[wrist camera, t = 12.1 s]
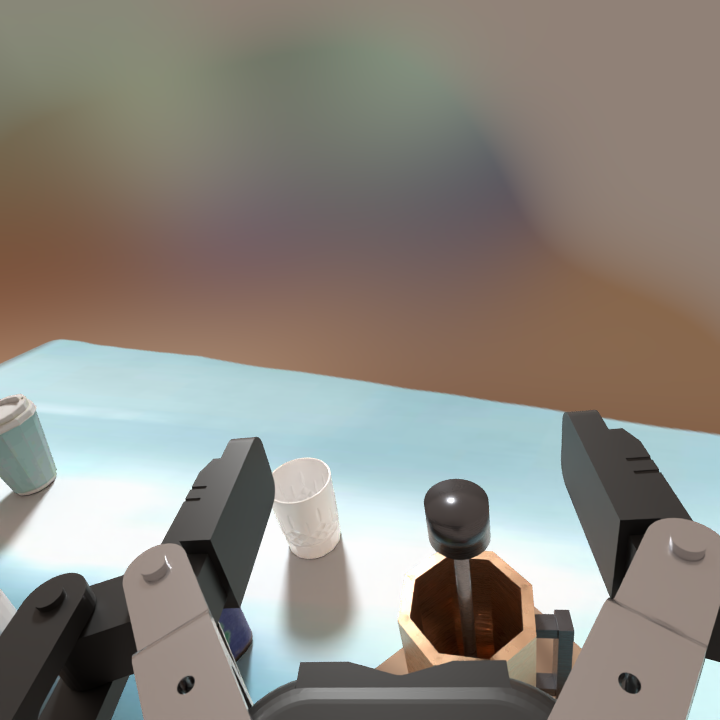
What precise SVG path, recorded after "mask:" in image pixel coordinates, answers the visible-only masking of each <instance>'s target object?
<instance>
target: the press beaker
mask: <svg viewBox="0 0 720 720" xmlns="http://www.w3.org/2000/svg"><path fill="white" fill-rule="evenodd" d="M469 566H470V577H471V589H472V601H473V612H474V624H475V636H476V647H477V658H471V657H464V648H463V639H462V630H461V620H460V611H459V601H458V592H457V583H456V573H455V564H454V559H450V558H447V557H444V556H442V555H441V554H439V553H438V552H437V553H436V554H434V555H433V556H432V557H430V558H429V559H427V560H426V561H424V562H423V563H421V564H420V565H418V566H417V567H416V568H414V569H413V570H411V571H410V572H408V573H407V574H405V580H404V587H403V593H402V599H401V605H400V611H399V617H398V624H399V629H400V634H401V639H402V644H403V649H404V654H405V659H406V664H407V669H408V673H412V672H415V671H419V670H422V669H426V668H429V667H433V666H436V665H440V664H443V663H447V662H450V661H466V660H506V661H507V667H508V673H509V678H512V679H516V680H520V681H522V682H525V683H527V684H530V685H532V686H535V687H536V688H538V689H540V690H542V691H544V692H546V693H548V694H549V695H550V696H555V698H556V700H557V699H558V697H559V695H560V693H561V691H562V689H563V687H564V684H565V682H566V680H567V678H568V676H569V674H570V672H571V670H572V656H573V642H574V628H573V624H572V620H571V616H570V612H569V610H554V614H534V602H533V590H532V585H531V584H530V583H529V582H528V581H527V580H526V579H524V578H523V577H522V576H521V575H520V574H519V573H517V572H516V571H515V570H514V569H513V568H511V567H510V566H509V565H508V564H507V563H506V562H504V561H503V560H502V559H501V558H500V557H499V556H497V555H496V554H495V553H494V552H491V551H484V552H482V553H481V554H480V555H478V556H476V557H474V558H471V559H469ZM536 638H549V639H553V664H552V673H536ZM479 658H481V659H479Z"/></svg>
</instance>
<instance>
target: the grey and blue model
mask: <svg viewBox="0 0 720 720" xmlns="http://www.w3.org/2000/svg"><path fill="white" fill-rule="evenodd" d="M219 624H220V626H221V628H222V630H223V633H224V635H225V638H226V640H227V642H228V645H229V647H230V650H231V652H232V655H233V657H234V659H235V662H236V661H237V660H238V659H239V658H240V657H241V656H242V655H243V654H244V653H245V652H246V650H247V649H248V647H249V646H250V644H251V642H252V631H251V629H250V627H249V625H248V623H247V621H246V619H245V617H244V614H243V612H242V610H241V607H240V608H226V609H223V610H222V613H221V616H220V619H219Z"/></svg>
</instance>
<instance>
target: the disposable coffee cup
mask: <svg viewBox="0 0 720 720" xmlns="http://www.w3.org/2000/svg"><path fill="white" fill-rule="evenodd" d="M56 470H57V469H56V466H55V463H54V460H53V458H52V455H51V452H50V449H49V446H48V443H47V440H46V438H45V435H44V432H43V429H42V426H41V423H40V421H39V418H38V415H37V412H36V406H35V405H34V403H33V402H32V401H30V400H29V399H27V398H26V397H25V396H24V395H22V394H17V395H12V396H8V397H5V398H3V399H0V477H1V479H2V480H3V481H4V482H5V483H6V484H7V485H8V486H9V487H10V488H11V489H12V490H13V491H14V492H15V493H18V494H19V495H30V494H33V493H36V492H38V491H40V490H42V489H43V488H45V487H47V486H48V485H49V484H50V483H51V482H52V481H53V480H54V479H55V477H56V474H57V473H56Z"/></svg>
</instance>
